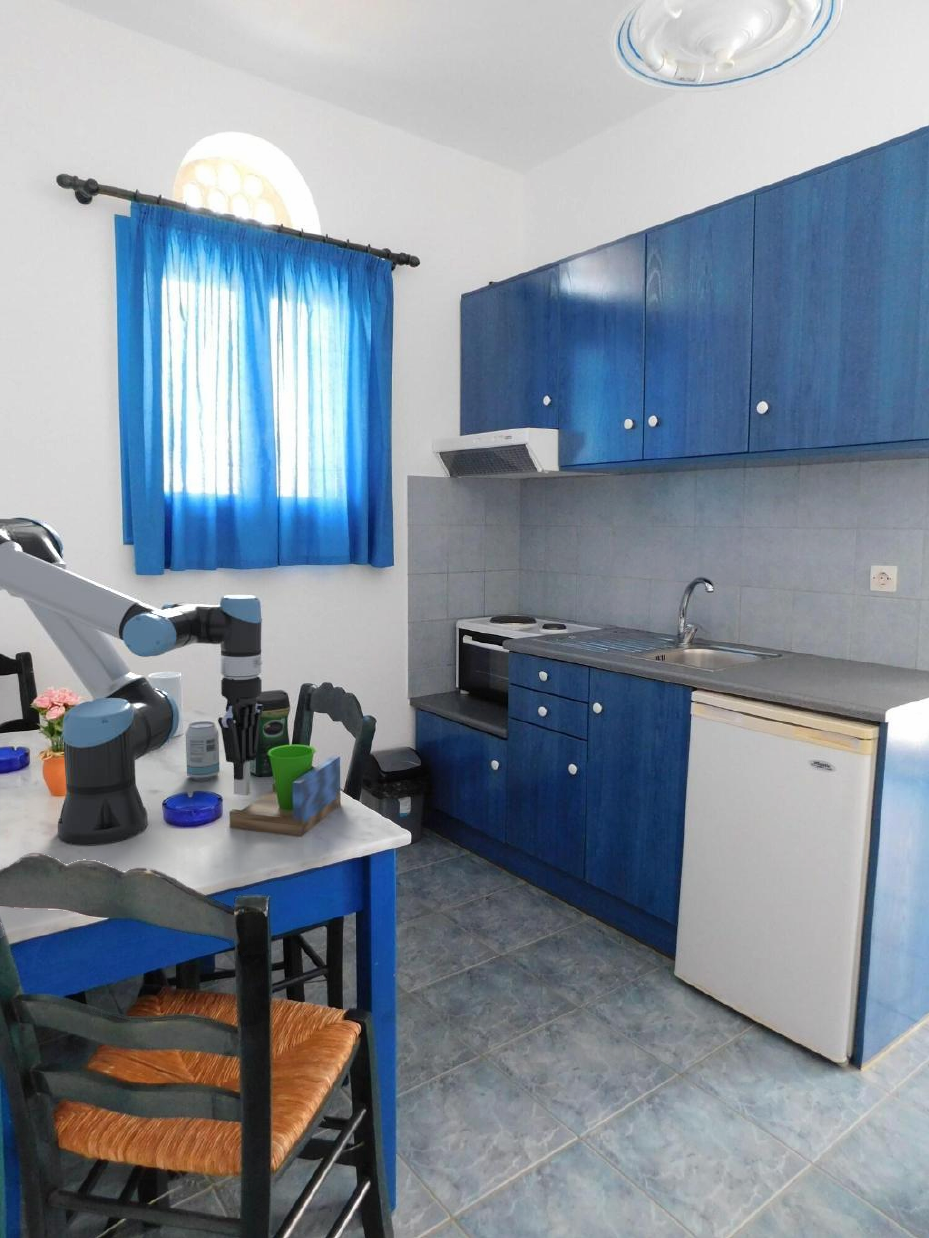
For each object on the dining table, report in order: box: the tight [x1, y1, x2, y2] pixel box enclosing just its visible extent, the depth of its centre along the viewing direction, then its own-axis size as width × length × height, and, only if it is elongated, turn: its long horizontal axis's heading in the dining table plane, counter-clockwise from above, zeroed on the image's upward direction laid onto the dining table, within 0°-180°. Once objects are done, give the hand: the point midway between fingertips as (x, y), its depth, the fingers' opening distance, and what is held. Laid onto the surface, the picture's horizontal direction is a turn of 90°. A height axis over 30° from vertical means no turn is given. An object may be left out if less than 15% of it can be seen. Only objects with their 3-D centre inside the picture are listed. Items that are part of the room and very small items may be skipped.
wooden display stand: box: [229, 755, 342, 837], centre depth 156 cm, size 17×14×10 cm
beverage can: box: [185, 720, 221, 782], centre depth 178 cm, size 7×7×12 cm
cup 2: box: [267, 744, 316, 811], centre depth 155 cm, size 9×9×11 cm
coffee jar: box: [250, 689, 291, 777], centre depth 183 cm, size 10×8×19 cm
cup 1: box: [147, 671, 184, 738], centre depth 214 cm, size 8×8×16 cm
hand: (242, 793), depth 158 cm, fingers closed
